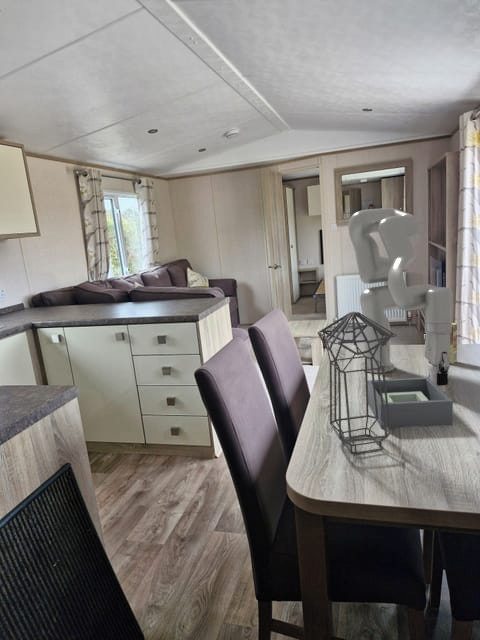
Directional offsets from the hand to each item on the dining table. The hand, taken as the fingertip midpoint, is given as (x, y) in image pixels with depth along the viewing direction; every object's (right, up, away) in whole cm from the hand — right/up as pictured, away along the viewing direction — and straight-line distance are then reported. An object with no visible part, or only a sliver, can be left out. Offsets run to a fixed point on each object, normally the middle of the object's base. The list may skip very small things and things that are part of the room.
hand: (438, 380), depth 140 cm
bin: (-15, -8, -12) cm, 20 cm away
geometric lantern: (-33, -13, -27) cm, 44 cm away
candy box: (+16, +3, +30) cm, 34 cm away
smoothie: (0, -4, +1) cm, 4 cm away
